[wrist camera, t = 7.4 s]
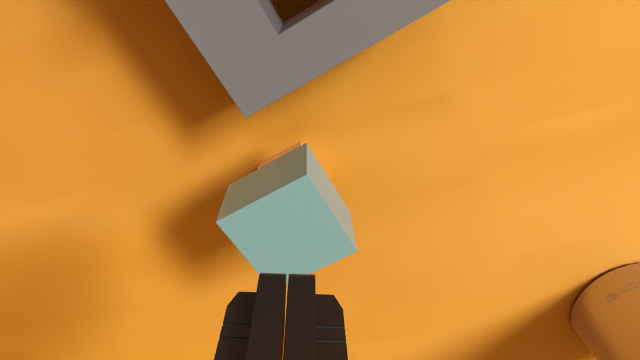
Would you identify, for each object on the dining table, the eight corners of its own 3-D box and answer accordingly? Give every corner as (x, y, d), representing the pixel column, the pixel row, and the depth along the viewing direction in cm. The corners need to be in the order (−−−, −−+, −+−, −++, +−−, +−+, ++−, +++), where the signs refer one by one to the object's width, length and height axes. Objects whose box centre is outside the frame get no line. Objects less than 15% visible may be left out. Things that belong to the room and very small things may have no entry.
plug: (345, 185, 29) (357, 251, 22) (279, 218, 30) (272, 290, 23) (306, 121, 26) (306, 174, 20) (237, 160, 27) (215, 221, 21)
